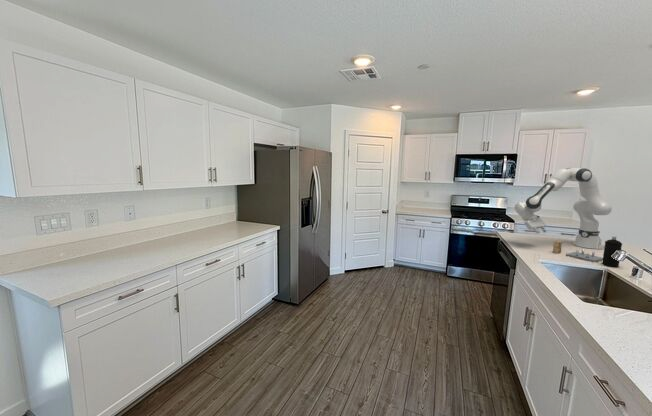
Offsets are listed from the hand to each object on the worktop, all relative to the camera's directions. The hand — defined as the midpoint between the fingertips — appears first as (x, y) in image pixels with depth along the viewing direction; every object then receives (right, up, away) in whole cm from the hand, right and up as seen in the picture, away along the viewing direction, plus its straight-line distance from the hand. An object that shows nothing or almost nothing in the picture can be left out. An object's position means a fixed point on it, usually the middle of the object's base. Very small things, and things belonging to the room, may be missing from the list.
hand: (542, 232), depth 218 cm
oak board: (+5, -15, -8) cm, 18 cm away
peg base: (+15, -17, -21) cm, 30 cm away
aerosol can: (+16, -19, -37) cm, 45 cm away
